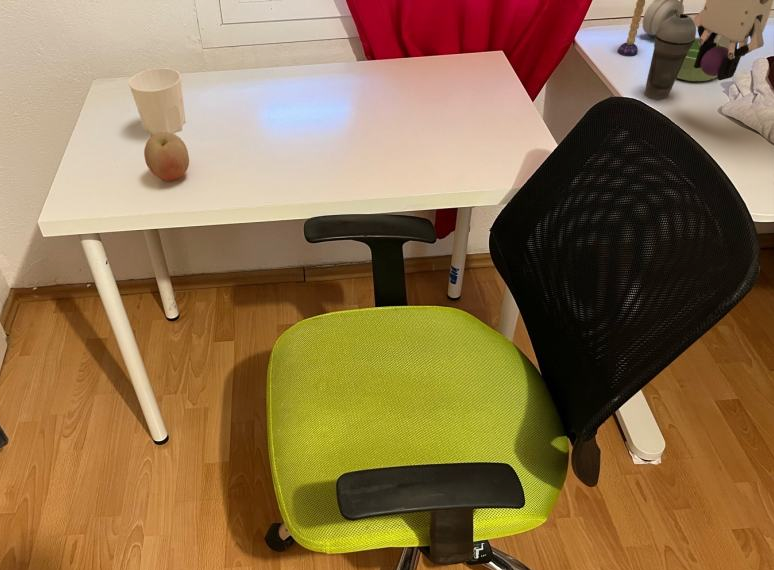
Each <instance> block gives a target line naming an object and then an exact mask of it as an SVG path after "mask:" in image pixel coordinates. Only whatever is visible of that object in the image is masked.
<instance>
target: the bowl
mask: <svg viewBox="0 0 774 570" xmlns="http://www.w3.org/2000/svg"><path fill="white" fill-rule="evenodd" d="M699 39H700V38H699V37H695V41H694V42H693V45H692V46H691V48H690V50H689V51H688V53H687V55H686V57H685V60H684V62H683V64H682V66H681V69H680V71H679V73H678V75H677V78H676V79H679V80H683V81H689V82H705V81H706V82H707V81H711V80H714V79H715V78H716V79H717V76H709V75H707V74H705V73H704V72H703V71H702V68H697V69H696V68H694V64H695V61H696V58H697V55H698V52H699V49H700V45H699V43H698V41H699ZM718 46H723V45H722V44H718ZM723 47H724V46H723Z"/></svg>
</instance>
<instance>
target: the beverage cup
mask: <svg viewBox="0 0 774 570" xmlns="http://www.w3.org/2000/svg"><path fill="white" fill-rule="evenodd" d="M679 1H680V5H679V9H678V14H675V15H672V16H670V17H668V18H667V19H666V20H665V21H664V22H663V23H662V24H661V25H660V26H659V28H658V30H657V32H656V34H655V35H654V37H655V38H654V41H653V42H654V43H653V50H652V51H653V53H652V56H651V60H650V65H649V70H648V74H647V79H646V84H645V90H644V95H645V96H646V97H648V98H650V99H654V100H664V99H666V98H668V97H669V95H670V93H671V90H672V89H673V87H674V85H675V83H676V80H677V79H678V78H677V75H678V73H679V71H680V69H681V66H682V64H683V62H684V60H685V57H686V55H687V53H688V51H689V50H690V48H691V46H692V45H693V42H694V41H695V38H696V36H697V26H696V23H695V21H694V18H693V17H691V16H690V15H688V14H685V13H683V14H680V13H681V9H682V4H683V5H684V0H679Z"/></svg>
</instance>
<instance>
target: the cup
mask: <svg viewBox="0 0 774 570" xmlns="http://www.w3.org/2000/svg"><path fill="white" fill-rule="evenodd" d="M128 86H129V89H130V91H131V95H132V97H133V100H134V103H135V105H136V109H137V112H138V114H139V118H140V122H141V124H142V127H143V130H144V131H147V132H148V133H150V134H151V136H153V135H154V134H156V133H160V132H167V133H172V134H175V133H178V132H181V131H183V125H184V124H186V123H187V120H186V114H185V113H186V112H185V105H184V97H183V87H182V77H181V74H180V72H179V71H177V70H176V69H172V68H167V67H155V68H149V69H145V70H142V71H140V72H138V73H136V74H134V75H132V77H130V78H129V81H128Z"/></svg>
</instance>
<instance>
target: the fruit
mask: <svg viewBox="0 0 774 570" xmlns="http://www.w3.org/2000/svg"><path fill="white" fill-rule="evenodd" d="M143 155H144V156H143V157H144V160H145V164H146V166H147V168H148V170H150V172H151V173H152V174H153V175H154V176H155V177H157V178H158V179H160V180H162V181H164V182H165V181H166V182H172V181H175V180H178V179H179V178H181V177H183V176H184V175H185V174H186V172H187V171H188V169H189V166H190V157H189V152H188V148H187V145H186V144H185V142H184V141H183V140H182V138H181V137H179V136H178V135H176V134H175V133H167V132H160V133H156V134H154V135H151V137H149V138H148V140H147V141H146V143H145V146H144V150H143Z"/></svg>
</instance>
